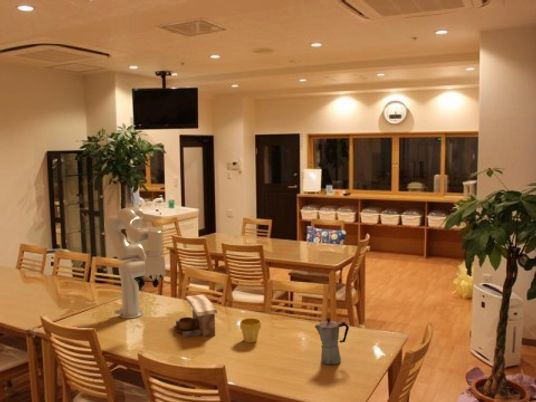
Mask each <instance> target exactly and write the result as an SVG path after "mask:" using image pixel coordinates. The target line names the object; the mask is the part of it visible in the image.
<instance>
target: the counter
mask: <svg viewBox="0 0 536 402" xmlns="http://www.w3.org/2000/svg"><path fill="white" fill-rule="evenodd" d="M185 298H186V299H185V300H186V302H187V303H188V304H189V306H190V307H191V311H192V314H191V315H192V318H193V320H197V321H198V323H197V324H196V321H193V324H196V325H197V326H198V328H197V330H193V331H186V332H182V333H181V334H182V338H190V337H197V336H203V338H208V337H214V336H216V319H215V317H216V314H218V309H217V308H216V306H214V305H213V303H212V302H211V301H210V299H209V298H207V296H206V295H205V294H196V295H189V296H186V297H185ZM179 320H180V319H179ZM179 320H175V327H176V326H178V325H180V324H179Z"/></svg>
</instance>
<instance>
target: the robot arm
mask: <svg viewBox="0 0 536 402" xmlns="http://www.w3.org/2000/svg"><path fill="white" fill-rule="evenodd" d="M143 219H144V211H143V210H142V209H141V208H140V207H138V206H136V207H134V206H133V207H125V208H121V209H119V210H118V212H117V213H116V215H115V214H114V215H111V216H108V217H106V218H105V220H104V222H103V223H104V224H103V225H104V230H105V233H106V235H107V236H108V237H109V240H110V241H111V244H112V248H113V250H114V252H115V256H116V259H117V260H118V261H119V262H123V263H120V265H119V267H118V273H119V279H120V283H121V303H122V304H121V305H122V306H121V308H120V309H115V310H114V309H113V310H114V311H113V312H114V314H116V315H118V314H119V316H120V318H122V319H127V320H128V319H129V320H130V319H136V318H139V317H142V316H143V311H142V310H140V291H139V289H140V288H139V284H138V283H139V282H138V281H136V279H135V278H137V277H143V276H144V277H145V278H150V280H151V281H152V283H151V284H152V287H153V288H155V289H156V288H158V286H159V282H160V281H159V280H160V279H161V277H164V276H166V260H165V255H164V254H163V232H162V230H161V229H157V228H156V227H155V226H148V227H147V226H146V227H142V225H143ZM124 229H125V232H126V235H127V236H126V235H125V234H124V233H122V231H120V230H124ZM127 237H128V238H127ZM128 239H129V240H131V241H132V243H129V242H128ZM145 242H147V243H146V244H147V251H145V249H144V247H143V246H142V244H141V243H145Z"/></svg>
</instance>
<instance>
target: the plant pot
mask: <svg viewBox="0 0 536 402" xmlns="http://www.w3.org/2000/svg"><path fill="white" fill-rule="evenodd" d="M261 322H262V321H261V320H260V319H258V318H255V317H248V318H243V319H242V320H240V322H239V325H240V326H239V327H240V330H241V334H242V336H243V337H242V338H243V341H244V342H245V343H249V344H250V343H251V344H252V343H256V342H257V341H258V337H259V333H260V329H262V328H261V327H262V326H261V324H262V323H261Z"/></svg>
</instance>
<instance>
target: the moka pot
mask: <svg viewBox="0 0 536 402" xmlns="http://www.w3.org/2000/svg"><path fill="white" fill-rule="evenodd" d="M342 327H345V331H344V334H343V338H342V340H339V337H340V336H339V335H340V334H339V333H340V328H342ZM314 328H315V329H316V330H317V332H318V334H319V338H320V342H321V355H320V357H321V359H320V362H321V363H323V364H324V365H326V366H327V365H329V366H333V365H337V364H340V363H341V360H342V358H341V353H340V349H339V342H340V344H341V343H342V344H343V343H345V342H346V339H347V336H348V332H349V329H350V327H349V325H348V324H347V322H345V321H342V322H337V321H333V320H332V321H331V319H330V318H326V321H321V322H319V323H318V324H315V326H314Z"/></svg>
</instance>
